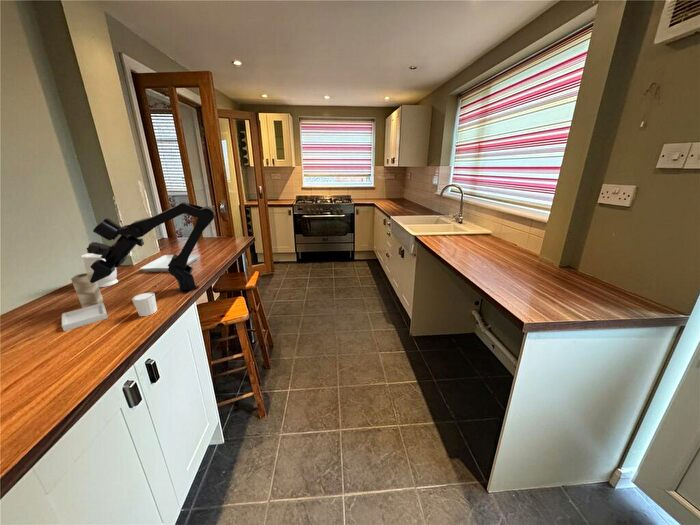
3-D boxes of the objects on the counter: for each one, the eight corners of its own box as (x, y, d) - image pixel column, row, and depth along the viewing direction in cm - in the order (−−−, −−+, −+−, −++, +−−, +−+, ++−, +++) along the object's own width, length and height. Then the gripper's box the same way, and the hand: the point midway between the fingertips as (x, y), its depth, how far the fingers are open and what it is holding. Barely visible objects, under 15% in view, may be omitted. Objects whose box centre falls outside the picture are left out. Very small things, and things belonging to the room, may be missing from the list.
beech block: (103, 300, 115) (93, 271, 110) (98, 305, 110) (87, 276, 106) (88, 302, 113) (77, 273, 109) (82, 308, 109) (70, 278, 104)
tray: (104, 307, 109) (103, 302, 109) (108, 318, 101) (106, 313, 101) (63, 318, 102) (61, 313, 101) (64, 331, 94) (61, 326, 93)
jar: (87, 286, 128) (75, 255, 123) (112, 278, 137) (102, 249, 132) (101, 290, 124) (89, 258, 119) (126, 281, 133) (116, 251, 128)
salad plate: (181, 273, 142) (179, 267, 141) (139, 274, 142) (137, 268, 141) (202, 259, 162) (201, 254, 161) (166, 260, 162) (164, 254, 161)
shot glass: (148, 318, 101) (142, 301, 98) (132, 317, 102) (126, 299, 100) (163, 309, 107) (159, 292, 105) (148, 307, 108) (143, 291, 106)
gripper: (109, 229, 114) (84, 259, 114) (89, 241, 97) (59, 275, 97) (137, 246, 119) (113, 274, 119) (122, 259, 103) (95, 291, 103)
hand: (96, 278), depth 109 cm, fingers open, 9 cm apart
